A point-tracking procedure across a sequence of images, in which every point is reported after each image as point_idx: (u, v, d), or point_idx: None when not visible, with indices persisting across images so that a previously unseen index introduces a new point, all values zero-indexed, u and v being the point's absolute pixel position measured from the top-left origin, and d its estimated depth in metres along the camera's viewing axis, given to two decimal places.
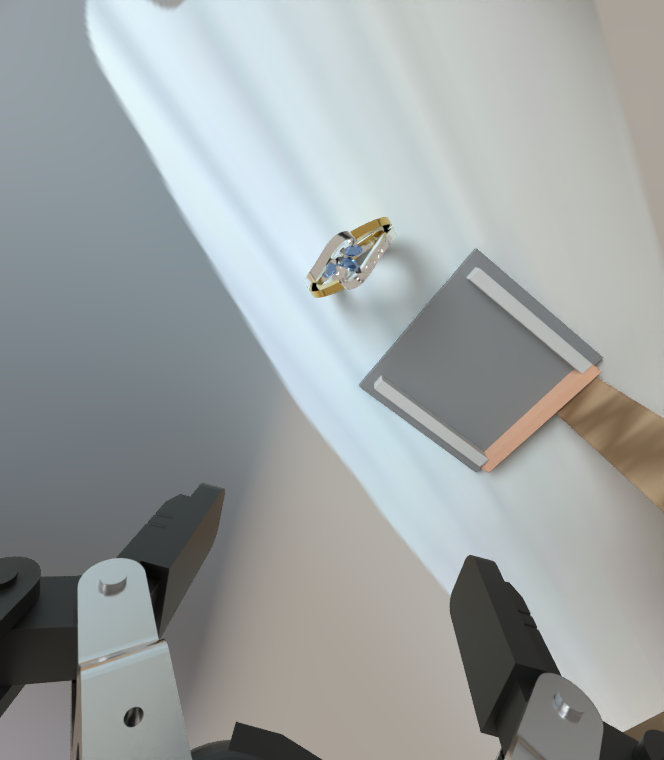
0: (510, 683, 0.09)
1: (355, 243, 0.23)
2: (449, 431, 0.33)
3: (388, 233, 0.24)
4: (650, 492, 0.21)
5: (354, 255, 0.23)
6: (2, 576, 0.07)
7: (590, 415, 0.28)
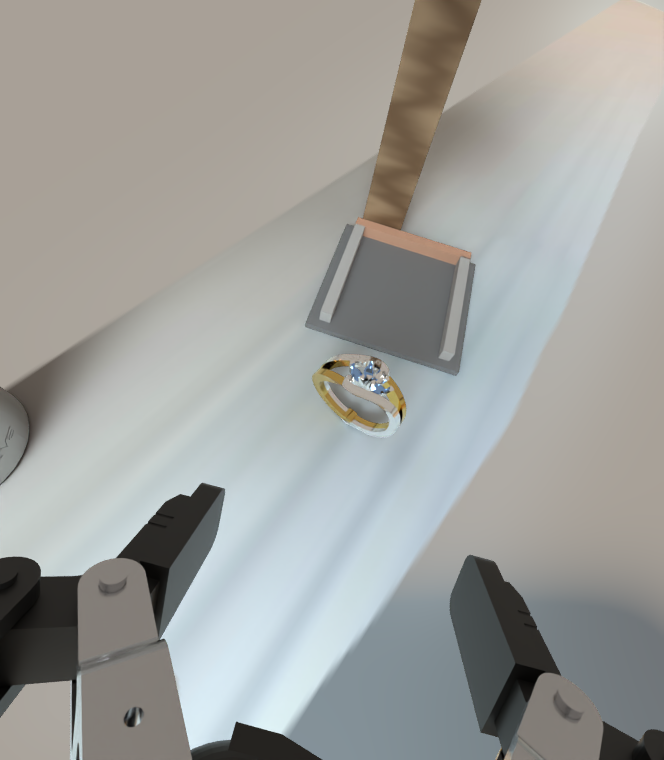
0: (510, 683, 0.09)
1: (349, 376, 0.24)
2: (455, 288, 0.36)
3: (327, 361, 0.26)
4: (434, 120, 0.30)
5: (359, 371, 0.24)
6: (2, 575, 0.07)
7: (393, 202, 0.37)
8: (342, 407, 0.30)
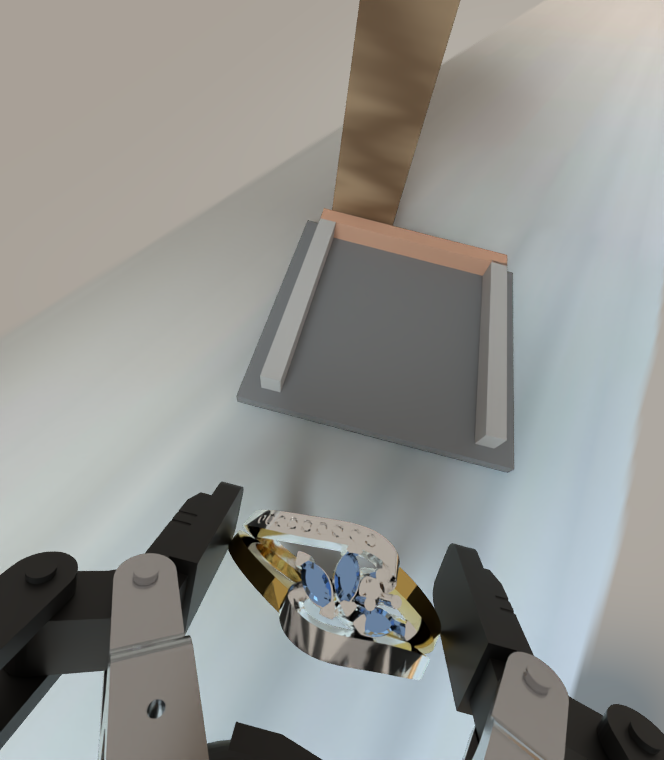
0: (484, 662, 0.09)
1: (298, 586, 0.10)
2: (491, 316, 0.22)
3: (255, 524, 0.11)
4: (450, 5, 0.15)
5: (324, 576, 0.09)
6: (43, 569, 0.07)
7: (379, 179, 0.22)
8: None
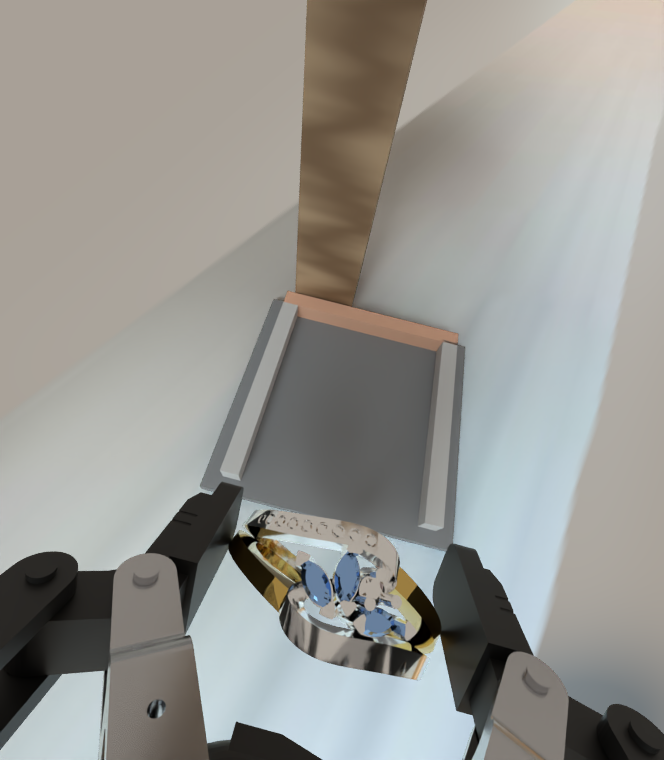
0: (483, 662, 0.09)
1: (298, 586, 0.10)
2: (438, 399, 0.24)
3: (255, 524, 0.11)
4: (381, 152, 0.17)
5: (324, 575, 0.09)
6: (43, 570, 0.07)
7: (335, 271, 0.24)
8: None
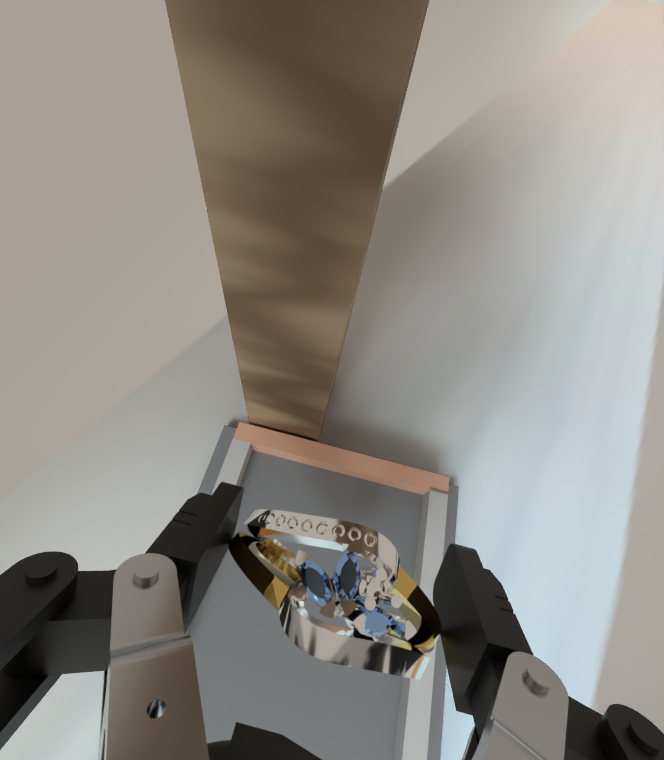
0: (483, 662, 0.09)
1: (298, 585, 0.10)
2: (422, 580, 0.19)
3: (255, 523, 0.11)
4: (335, 325, 0.12)
5: (325, 575, 0.09)
6: (42, 569, 0.07)
7: (294, 413, 0.19)
8: None
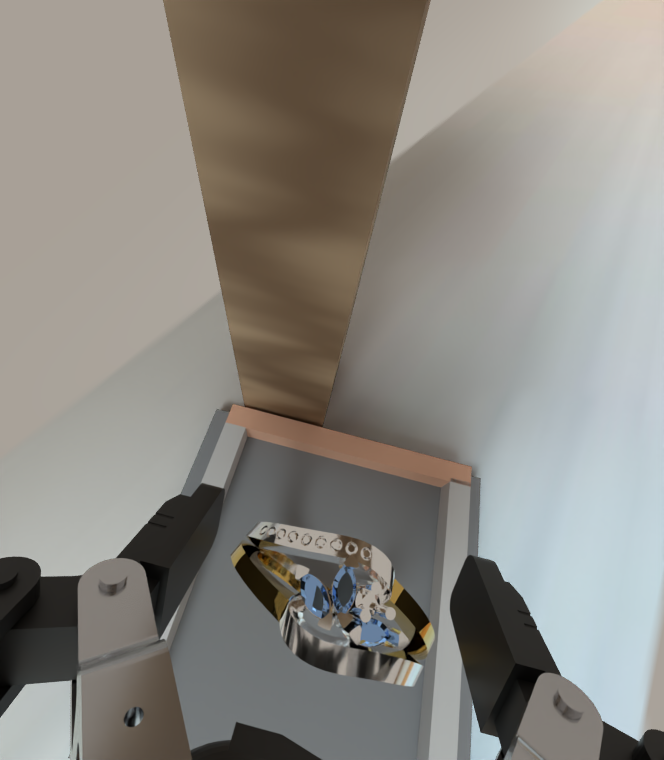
0: (510, 683, 0.09)
1: (298, 597, 0.10)
2: (444, 584, 0.16)
3: (256, 536, 0.12)
4: (348, 264, 0.10)
5: (323, 587, 0.10)
6: (2, 575, 0.07)
7: (295, 391, 0.17)
8: None
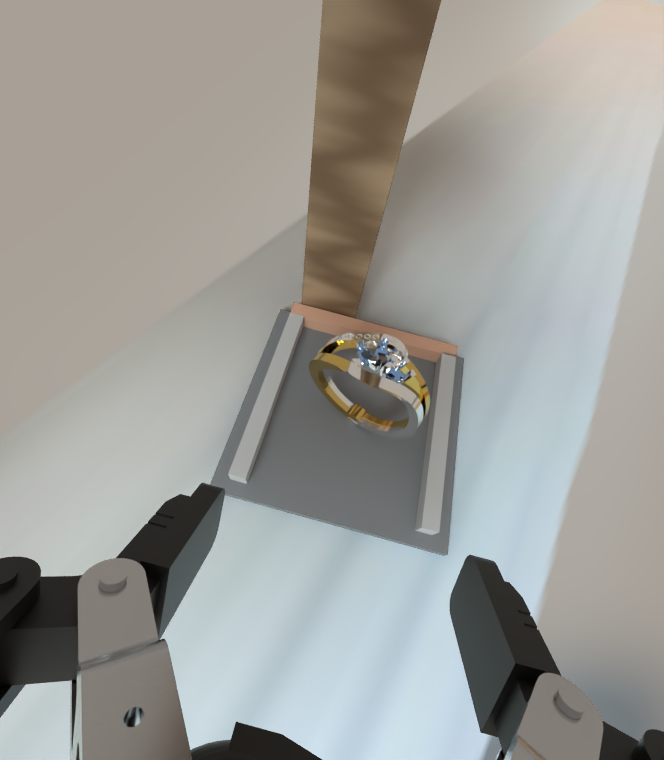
0: (510, 683, 0.09)
1: (356, 360, 0.19)
2: (436, 409, 0.25)
3: (327, 344, 0.20)
4: (385, 179, 0.18)
5: (370, 352, 0.19)
6: (2, 575, 0.07)
7: (340, 285, 0.25)
8: (347, 403, 0.24)
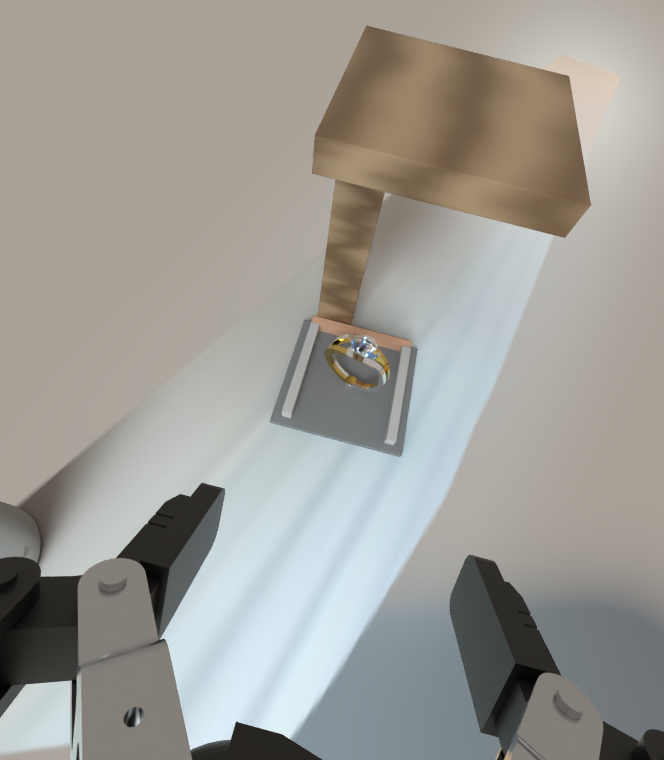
0: (510, 683, 0.09)
1: (350, 348, 0.37)
2: (397, 377, 0.42)
3: (335, 340, 0.38)
4: (364, 256, 0.36)
5: (357, 344, 0.36)
6: (2, 576, 0.07)
7: (341, 306, 0.43)
8: (346, 374, 0.42)
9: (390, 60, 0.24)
